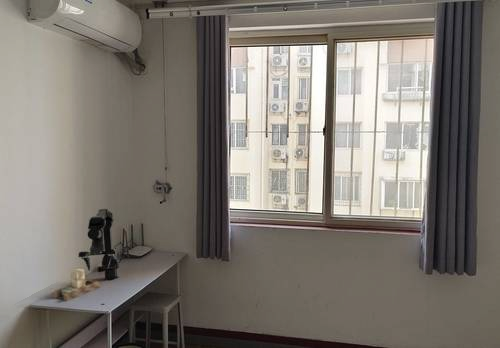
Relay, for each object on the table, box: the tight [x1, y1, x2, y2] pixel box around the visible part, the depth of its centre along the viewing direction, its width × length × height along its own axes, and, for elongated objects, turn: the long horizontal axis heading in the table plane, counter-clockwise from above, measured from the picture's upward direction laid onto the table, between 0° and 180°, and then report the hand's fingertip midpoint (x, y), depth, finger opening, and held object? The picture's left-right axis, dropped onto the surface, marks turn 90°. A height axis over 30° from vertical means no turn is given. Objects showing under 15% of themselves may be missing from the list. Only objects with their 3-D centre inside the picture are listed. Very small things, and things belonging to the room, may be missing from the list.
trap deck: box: [51, 278, 101, 302], centre depth 236 cm, size 22×12×3 cm, turn 151°
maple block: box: [70, 268, 86, 288], centre depth 237 cm, size 5×5×9 cm
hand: (98, 269), depth 224 cm, fingers open, 9 cm apart
